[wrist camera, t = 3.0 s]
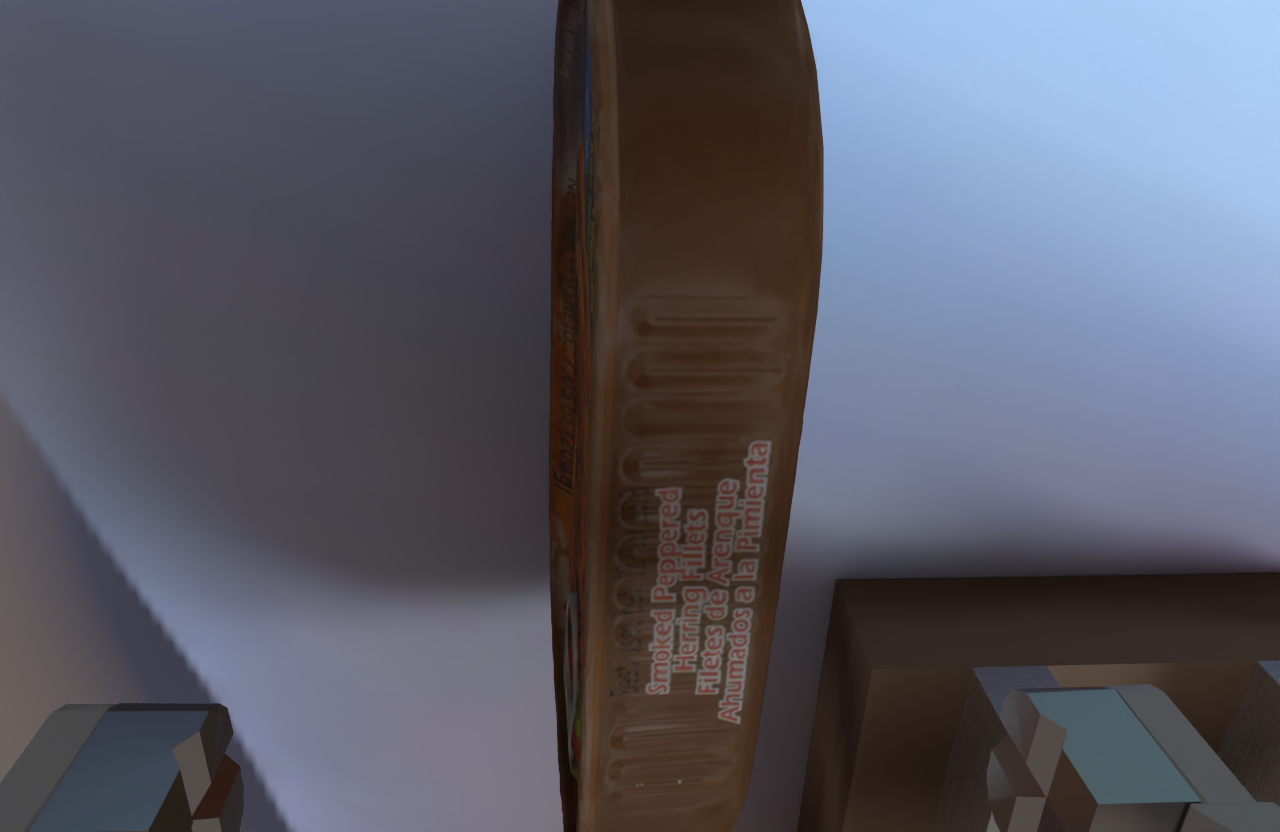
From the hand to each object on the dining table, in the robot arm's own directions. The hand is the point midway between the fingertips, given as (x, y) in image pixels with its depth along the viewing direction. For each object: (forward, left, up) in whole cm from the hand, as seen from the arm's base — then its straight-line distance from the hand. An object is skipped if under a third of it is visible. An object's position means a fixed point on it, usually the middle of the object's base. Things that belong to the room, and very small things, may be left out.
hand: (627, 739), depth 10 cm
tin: (0, +1, -10) cm, 10 cm away
